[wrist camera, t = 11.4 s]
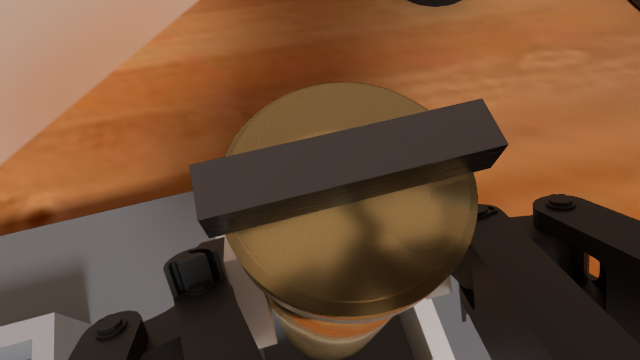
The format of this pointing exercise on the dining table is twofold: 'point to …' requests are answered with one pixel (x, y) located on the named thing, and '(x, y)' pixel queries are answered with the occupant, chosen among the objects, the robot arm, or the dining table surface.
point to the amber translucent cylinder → (347, 206)
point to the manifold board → (163, 287)
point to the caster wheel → (434, 2)
